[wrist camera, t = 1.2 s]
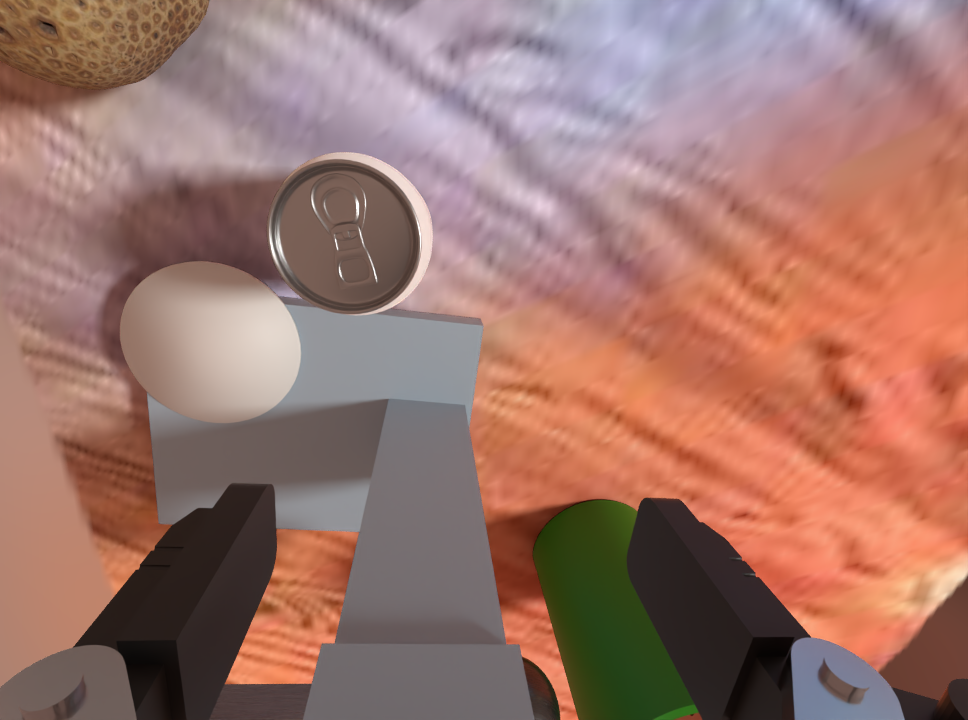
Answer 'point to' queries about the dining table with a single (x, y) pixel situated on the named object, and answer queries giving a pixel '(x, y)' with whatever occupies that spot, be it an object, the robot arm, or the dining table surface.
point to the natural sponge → (94, 38)
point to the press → (339, 474)
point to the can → (349, 234)
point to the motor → (605, 619)
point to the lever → (280, 707)
